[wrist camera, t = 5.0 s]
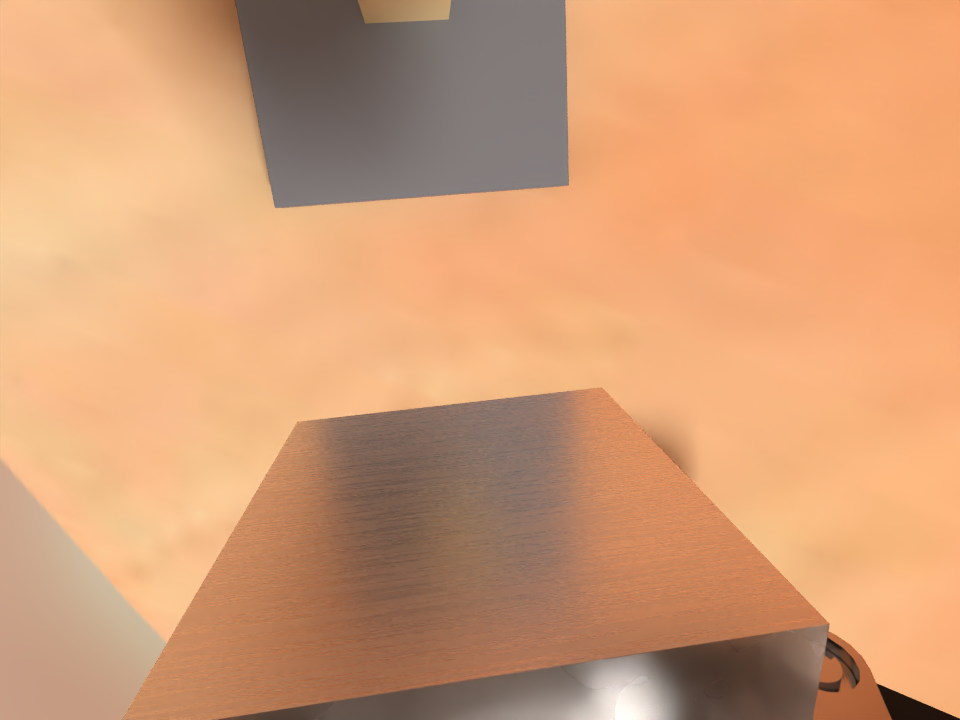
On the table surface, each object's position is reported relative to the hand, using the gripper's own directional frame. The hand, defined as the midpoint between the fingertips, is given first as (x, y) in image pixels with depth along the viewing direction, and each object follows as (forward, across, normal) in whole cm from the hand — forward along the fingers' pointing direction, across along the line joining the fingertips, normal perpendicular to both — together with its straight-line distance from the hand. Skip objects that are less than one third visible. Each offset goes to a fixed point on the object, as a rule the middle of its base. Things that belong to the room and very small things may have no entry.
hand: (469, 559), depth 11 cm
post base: (+17, 0, -17) cm, 24 cm away
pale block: (+1, 0, 0) cm, 1 cm away
